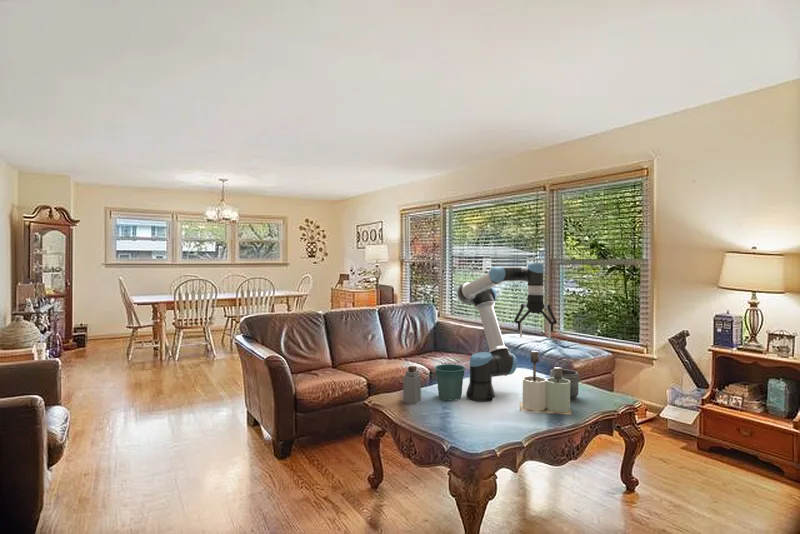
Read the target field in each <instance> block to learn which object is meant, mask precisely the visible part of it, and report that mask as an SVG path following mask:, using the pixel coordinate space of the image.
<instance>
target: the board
mask: <svg viewBox="0 0 800 534" xmlns="http://www.w3.org/2000/svg"><path fill="white" fill-rule="evenodd" d="M518 405H519V406H518V407H519V411H520V412H533V413H545V414H555V415H556V414H557V415H558V414H559V415H570V416H573V413H572V411H571V409H570V411H569V412H566V413H557V412H552V411H549V410H547V409H545V410H542V411H532V410H527V409H525V408H523V401H519V404H518Z"/></svg>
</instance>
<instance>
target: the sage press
mask: <svg viewBox="0 0 800 534" xmlns="http://www.w3.org/2000/svg"><path fill="white" fill-rule="evenodd" d="M553 369H554V378H553V377H552V378H550V377H547V378H545V379H546V409H547V410H549V411H552V412H557V413H566V412H569V411H570V410H571V401H570V380H567V379H563V378H562V369H563V368H562V367H558V366H556V367H555V366H554V368H553Z"/></svg>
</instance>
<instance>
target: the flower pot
mask: <svg viewBox="0 0 800 534" xmlns="http://www.w3.org/2000/svg"><path fill="white" fill-rule="evenodd" d="M434 370H435V375H436V380H437V381H436V382H437V391H438V392H437V393H438V398H439V399H441V400H444V401H448V400H449V401H458V400H460V399H462V395H463V394H462V393H463V384H464V383H463V382H464V376H465V370H466V367H465V366H464V365H460V364H455V363H444V364H439V365H435V366H434Z"/></svg>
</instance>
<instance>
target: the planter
mask: <svg viewBox="0 0 800 534" xmlns="http://www.w3.org/2000/svg"><path fill="white" fill-rule="evenodd" d="M552 377H553V378H554V368H553V369H550V373H549V378H552ZM562 378H563V379H567V380H570V402H571V401H574V400H576V398H577V397H578V395H579V381H580V380H579V372H578V371H576V370H573V369H567V368H562Z"/></svg>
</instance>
